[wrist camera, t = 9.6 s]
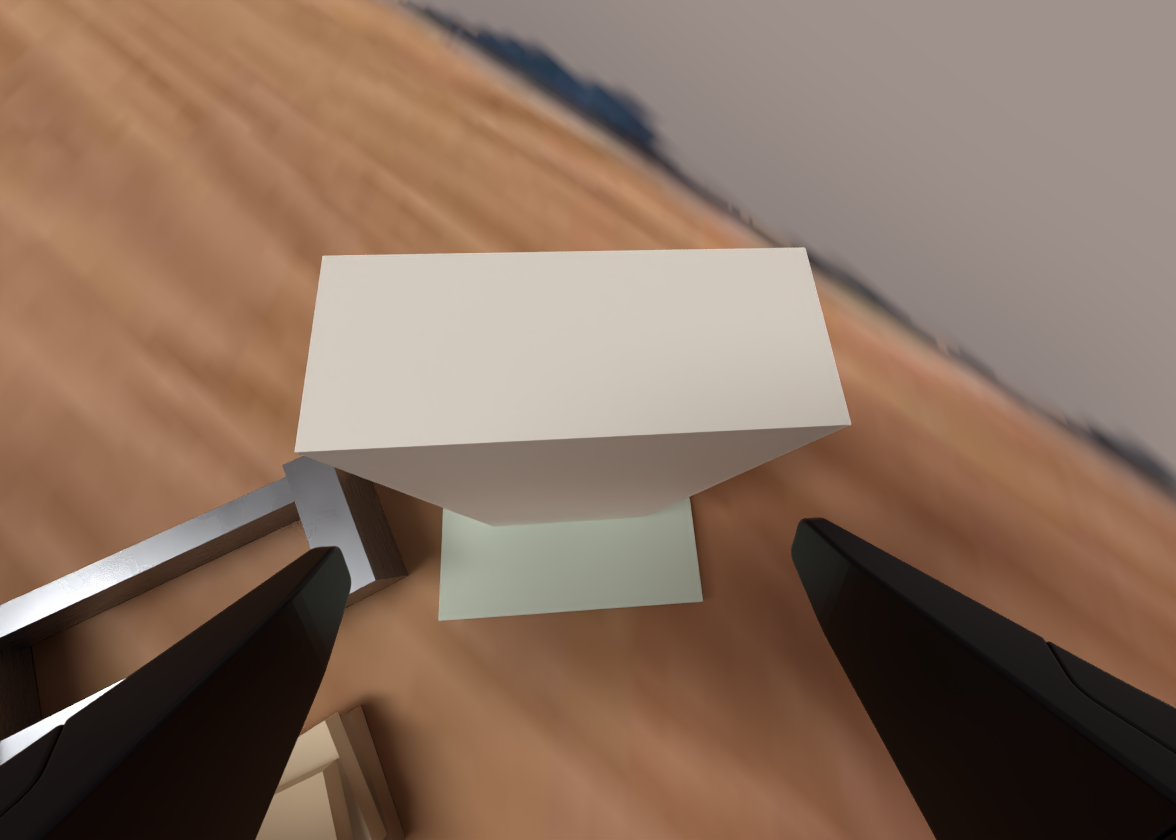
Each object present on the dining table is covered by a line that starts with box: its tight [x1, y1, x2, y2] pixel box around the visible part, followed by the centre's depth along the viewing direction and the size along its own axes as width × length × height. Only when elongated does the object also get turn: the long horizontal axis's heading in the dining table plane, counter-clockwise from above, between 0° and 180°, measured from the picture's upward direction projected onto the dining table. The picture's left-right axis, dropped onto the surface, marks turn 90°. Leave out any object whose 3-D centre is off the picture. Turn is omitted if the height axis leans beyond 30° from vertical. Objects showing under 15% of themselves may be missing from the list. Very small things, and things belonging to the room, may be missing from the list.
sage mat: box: [439, 497, 703, 621], centre depth 18 cm, size 9×10×1 cm
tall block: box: [295, 248, 852, 527], centre depth 11 cm, size 2×6×13 cm, turn 94°
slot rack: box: [0, 456, 408, 765], centre depth 14 cm, size 5×14×3 cm, turn 118°
